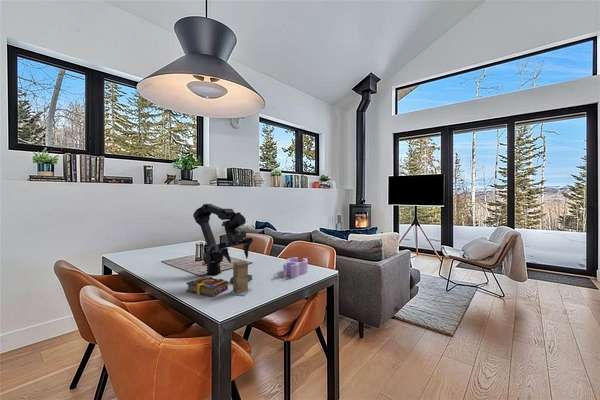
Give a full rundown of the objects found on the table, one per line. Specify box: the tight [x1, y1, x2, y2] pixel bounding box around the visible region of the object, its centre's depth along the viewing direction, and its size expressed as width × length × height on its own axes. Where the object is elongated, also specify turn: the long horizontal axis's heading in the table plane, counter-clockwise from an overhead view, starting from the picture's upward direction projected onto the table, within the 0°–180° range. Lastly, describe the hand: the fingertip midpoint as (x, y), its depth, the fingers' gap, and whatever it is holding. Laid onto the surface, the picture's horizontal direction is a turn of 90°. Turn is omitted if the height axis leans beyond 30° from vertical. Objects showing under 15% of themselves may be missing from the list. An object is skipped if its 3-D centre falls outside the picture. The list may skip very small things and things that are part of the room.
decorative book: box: [185, 276, 229, 298], centre depth 126 cm, size 11×16×5 cm
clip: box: [282, 256, 309, 279], centre depth 156 cm, size 20×12×7 cm, turn 158°
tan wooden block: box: [232, 260, 249, 293], centre depth 124 cm, size 5×5×13 cm
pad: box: [227, 287, 253, 297], centre depth 124 cm, size 8×8×1 cm
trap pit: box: [230, 274, 253, 284], centre depth 140 cm, size 8×8×2 cm
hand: (238, 260), depth 138 cm, fingers open, 9 cm apart
